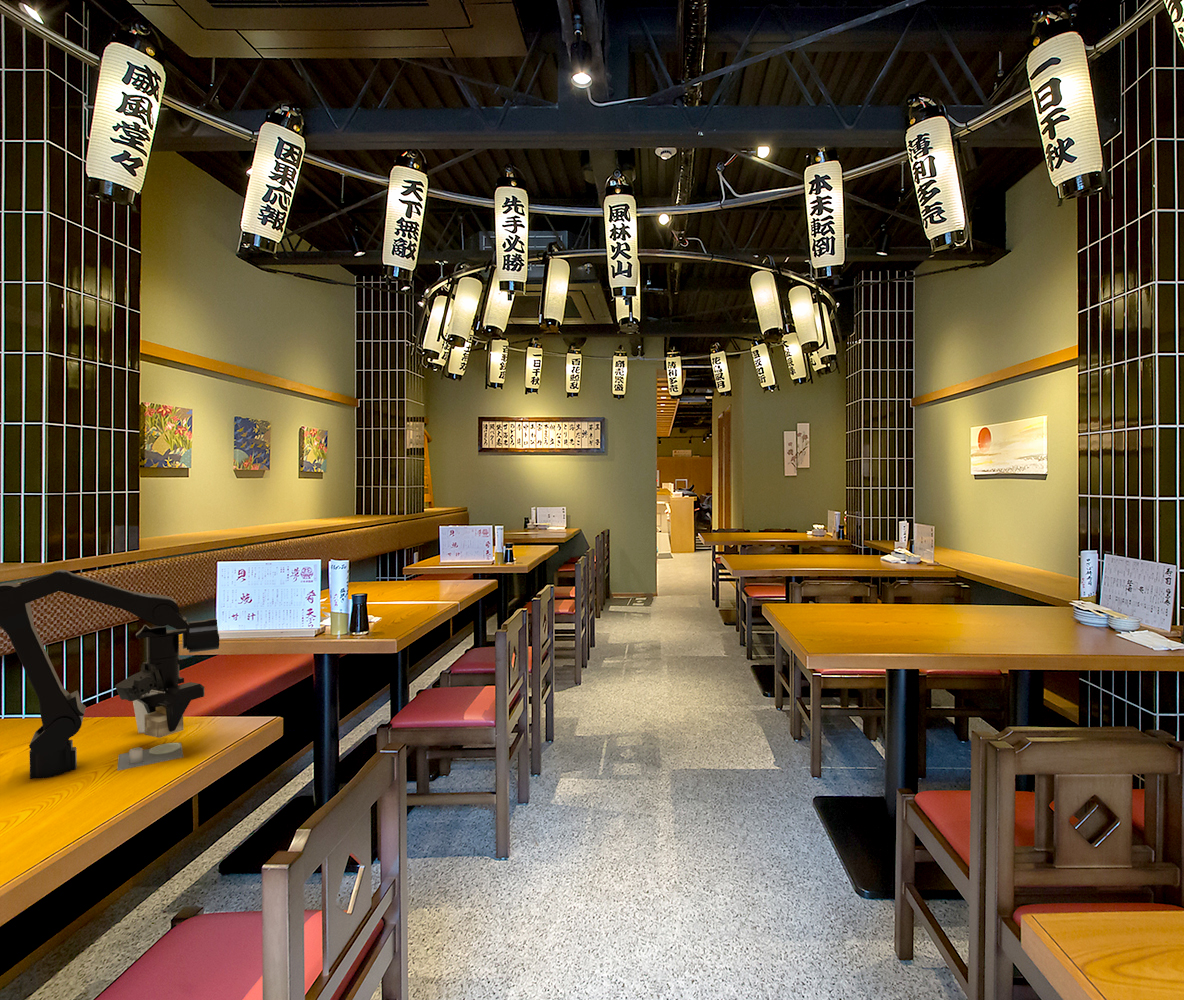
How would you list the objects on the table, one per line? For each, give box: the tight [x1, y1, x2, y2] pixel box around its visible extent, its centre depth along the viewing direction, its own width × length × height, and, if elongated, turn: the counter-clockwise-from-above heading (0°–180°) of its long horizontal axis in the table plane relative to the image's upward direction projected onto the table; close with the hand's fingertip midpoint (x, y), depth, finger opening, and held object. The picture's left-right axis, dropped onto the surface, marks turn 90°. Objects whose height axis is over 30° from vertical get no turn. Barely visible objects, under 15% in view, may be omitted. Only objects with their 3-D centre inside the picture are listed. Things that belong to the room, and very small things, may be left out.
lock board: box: [116, 742, 184, 772], centre depth 134 cm, size 11×10×4 cm
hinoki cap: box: [144, 706, 184, 739], centre depth 137 cm, size 5×5×5 cm
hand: (164, 729), depth 137 cm, fingers closed on hinoki cap, 5 cm apart
